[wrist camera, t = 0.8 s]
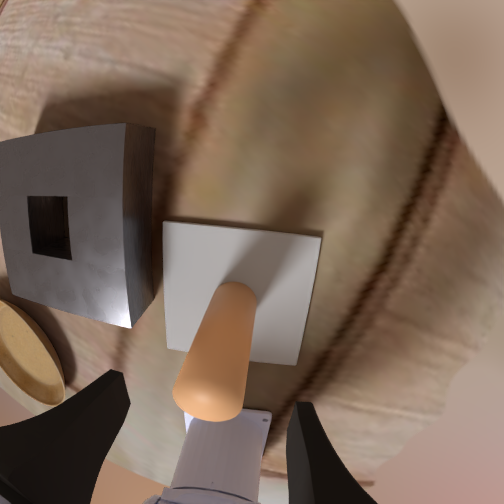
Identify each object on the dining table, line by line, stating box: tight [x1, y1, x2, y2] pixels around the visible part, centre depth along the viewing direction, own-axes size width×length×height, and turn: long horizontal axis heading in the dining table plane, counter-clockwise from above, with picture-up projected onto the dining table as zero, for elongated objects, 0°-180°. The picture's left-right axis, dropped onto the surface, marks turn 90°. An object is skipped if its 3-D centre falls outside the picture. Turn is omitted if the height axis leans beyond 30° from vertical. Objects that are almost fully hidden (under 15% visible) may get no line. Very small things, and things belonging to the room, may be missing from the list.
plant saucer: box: [0, 299, 65, 407], centre depth 23 cm, size 15×15×3 cm
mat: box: [163, 221, 321, 365], centre depth 20 cm, size 10×10×1 cm
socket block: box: [0, 123, 156, 328], centre depth 17 cm, size 12×12×4 cm
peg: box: [173, 282, 257, 422], centre depth 15 cm, size 3×3×9 cm
